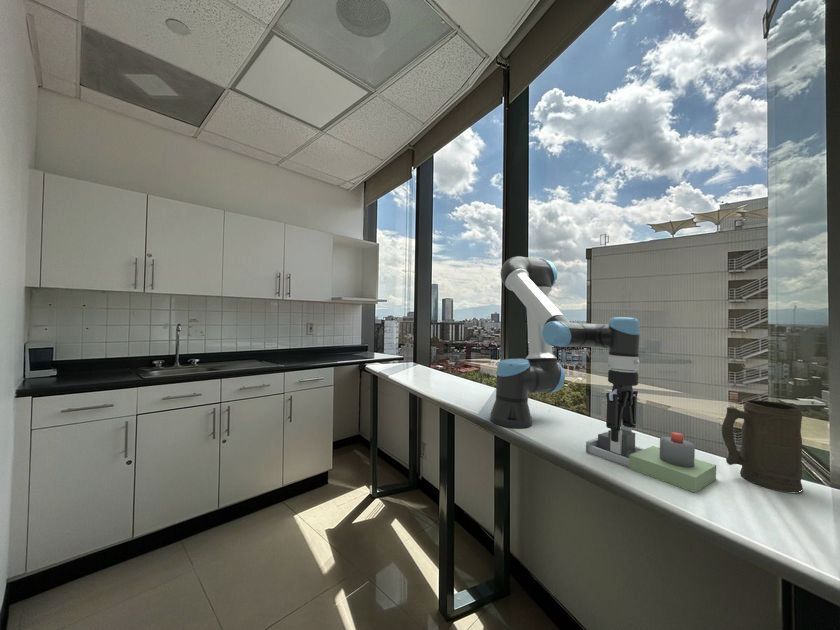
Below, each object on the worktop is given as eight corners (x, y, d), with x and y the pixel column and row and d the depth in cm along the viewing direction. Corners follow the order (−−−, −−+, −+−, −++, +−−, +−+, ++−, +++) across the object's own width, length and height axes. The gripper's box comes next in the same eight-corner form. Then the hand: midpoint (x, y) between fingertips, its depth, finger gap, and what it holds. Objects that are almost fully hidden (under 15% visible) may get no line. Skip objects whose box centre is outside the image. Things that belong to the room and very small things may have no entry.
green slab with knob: (584, 451, 96) (586, 416, 97) (609, 443, 104) (610, 410, 104) (694, 492, 75) (696, 446, 75) (715, 479, 82) (717, 437, 82)
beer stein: (775, 474, 87) (771, 398, 87) (821, 495, 76) (816, 409, 76) (713, 473, 88) (709, 398, 89) (749, 493, 77) (744, 408, 78)
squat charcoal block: (597, 447, 98) (598, 427, 98) (606, 445, 100) (606, 425, 101) (626, 457, 91) (626, 435, 91) (635, 454, 94) (635, 433, 94)
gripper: (621, 373, 87) (618, 461, 87) (651, 370, 97) (649, 449, 96) (593, 369, 93) (590, 451, 93) (624, 367, 103) (622, 441, 103)
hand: (620, 450), depth 95 cm, fingers closed on squat charcoal block, 5 cm apart
